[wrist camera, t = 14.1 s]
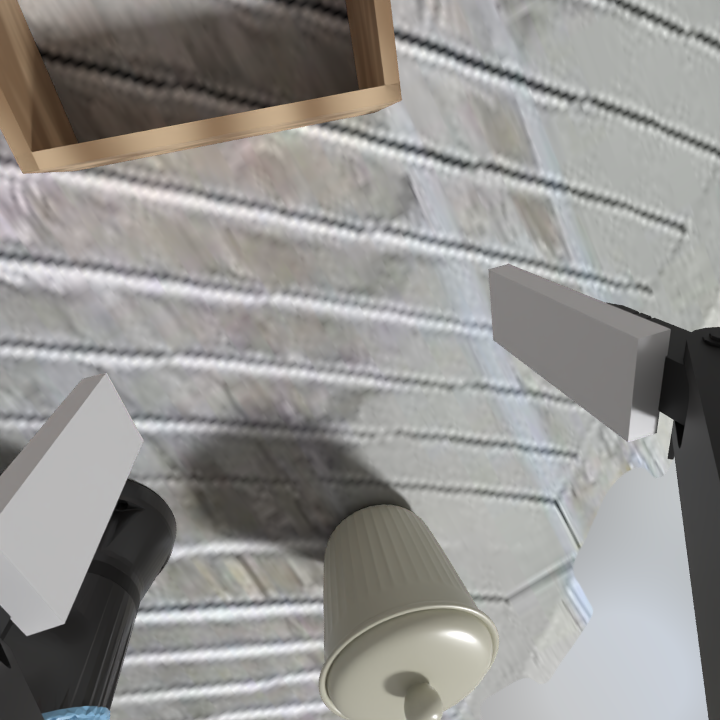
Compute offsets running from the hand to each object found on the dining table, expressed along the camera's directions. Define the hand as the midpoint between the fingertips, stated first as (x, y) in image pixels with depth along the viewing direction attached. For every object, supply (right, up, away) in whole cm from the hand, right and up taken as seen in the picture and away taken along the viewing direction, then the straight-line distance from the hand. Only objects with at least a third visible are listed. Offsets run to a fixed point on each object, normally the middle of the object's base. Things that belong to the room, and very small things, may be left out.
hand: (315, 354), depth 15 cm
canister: (+3, -23, +41) cm, 48 cm away
